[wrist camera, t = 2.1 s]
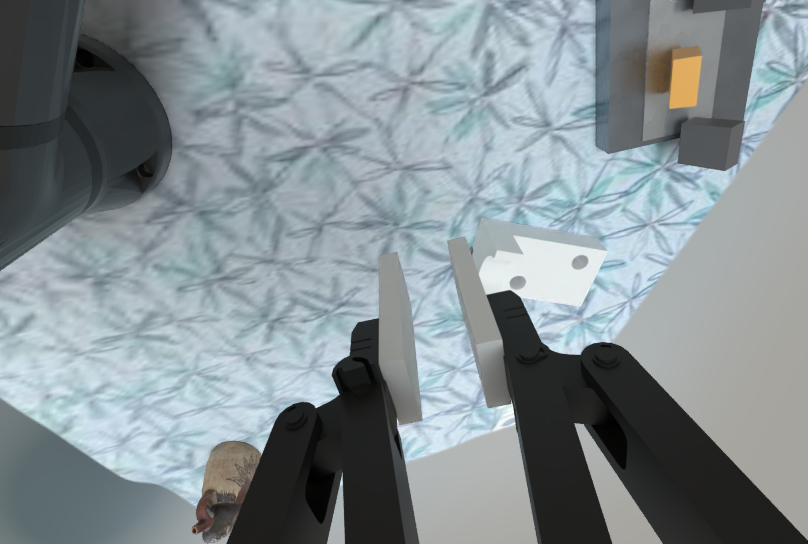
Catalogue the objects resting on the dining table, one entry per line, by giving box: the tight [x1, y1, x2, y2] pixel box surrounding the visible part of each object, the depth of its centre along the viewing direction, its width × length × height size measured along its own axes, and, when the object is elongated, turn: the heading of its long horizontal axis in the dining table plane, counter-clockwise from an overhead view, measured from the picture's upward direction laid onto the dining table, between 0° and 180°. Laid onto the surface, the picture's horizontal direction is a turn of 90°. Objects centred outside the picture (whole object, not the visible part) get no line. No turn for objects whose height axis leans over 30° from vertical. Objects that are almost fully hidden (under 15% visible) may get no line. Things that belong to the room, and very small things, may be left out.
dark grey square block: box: [678, 117, 745, 171], centre depth 38 cm, size 2×4×4 cm, turn 13°
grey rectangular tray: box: [596, 0, 763, 154], centre depth 36 cm, size 12×20×3 cm, turn 13°
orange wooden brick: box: [669, 46, 702, 109], centre depth 35 cm, size 2×4×4 cm, turn 13°
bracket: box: [472, 218, 608, 306], centre depth 46 cm, size 13×7×8 cm, turn 79°
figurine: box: [192, 441, 261, 544], centre depth 60 cm, size 7×7×12 cm
